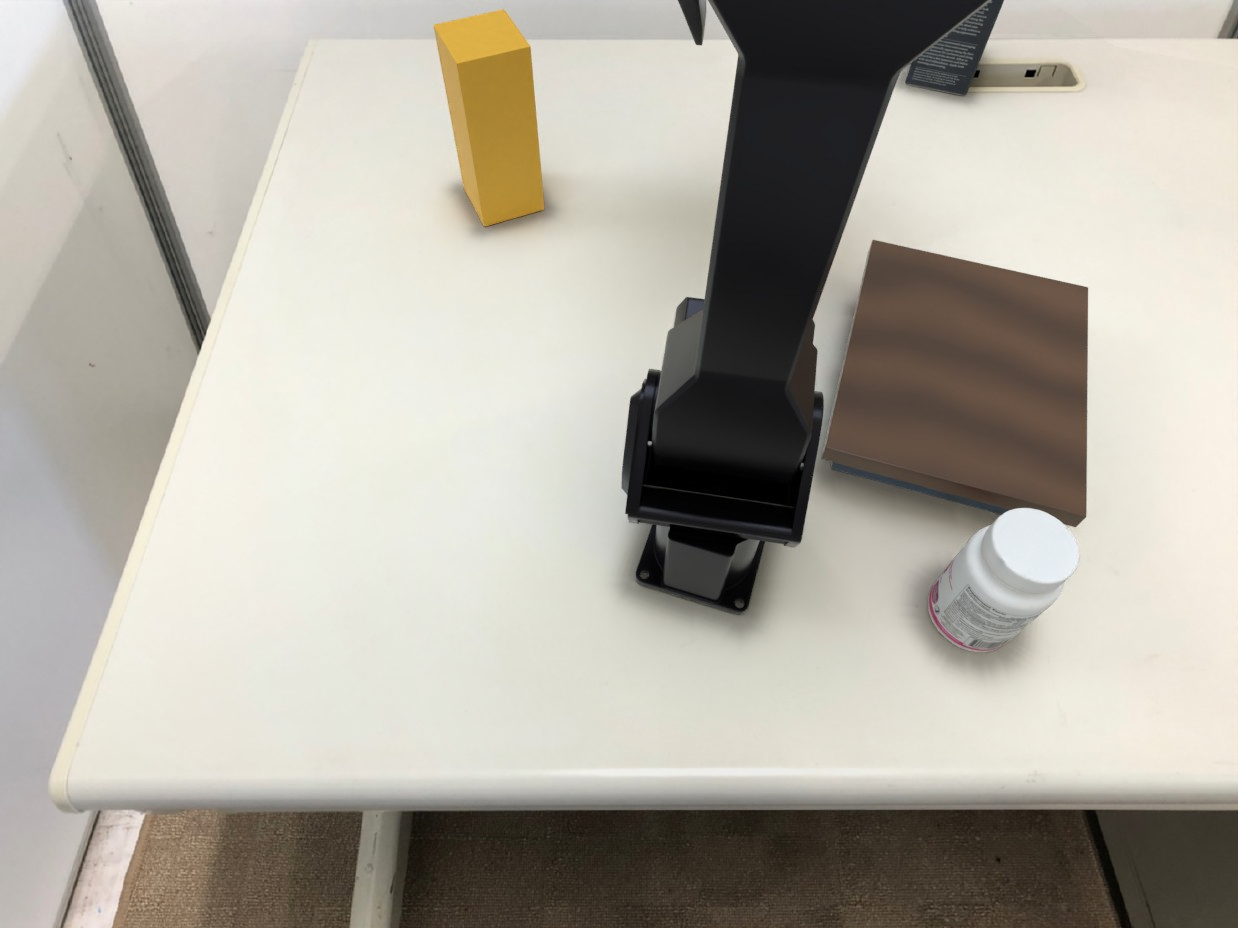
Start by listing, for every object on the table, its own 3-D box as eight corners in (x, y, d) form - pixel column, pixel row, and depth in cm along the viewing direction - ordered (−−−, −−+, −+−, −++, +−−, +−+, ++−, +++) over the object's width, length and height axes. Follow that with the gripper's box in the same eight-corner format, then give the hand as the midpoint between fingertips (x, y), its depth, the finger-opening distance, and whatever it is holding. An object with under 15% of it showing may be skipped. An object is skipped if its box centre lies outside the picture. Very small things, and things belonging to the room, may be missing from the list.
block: (544, 209, 62) (530, 46, 51) (484, 227, 61) (456, 63, 50) (522, 172, 64) (504, 8, 53) (463, 188, 63) (433, 24, 52)
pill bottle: (948, 558, 46) (1010, 482, 39) (1026, 607, 44) (1106, 537, 37) (909, 618, 44) (967, 549, 37) (989, 672, 42) (1066, 611, 35)
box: (915, 41, 76) (956, -84, 67) (975, 52, 75) (1025, -72, 66) (902, 85, 72) (943, -41, 63) (966, 98, 71) (1017, -28, 62)
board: (1045, 556, 46) (1086, 517, 42) (807, 490, 48) (825, 447, 44) (1054, 336, 55) (1088, 286, 51) (854, 289, 57) (872, 239, 54)
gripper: (1045, -350, 37) (929, -24, 51) (647, -373, 38) (643, -50, 52) (1059, -216, 32) (928, 100, 47) (608, -248, 34) (616, 68, 48)
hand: (774, 48), depth 49 cm, fingers open, 9 cm apart
